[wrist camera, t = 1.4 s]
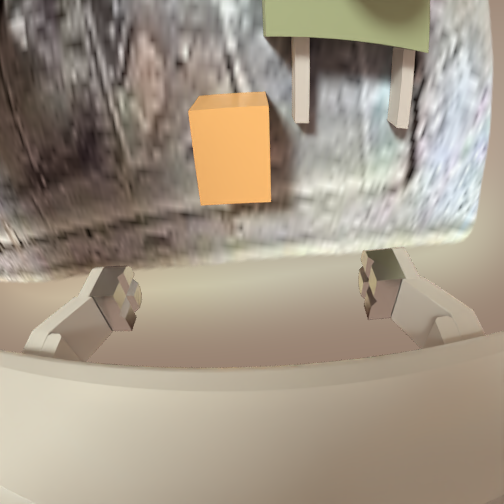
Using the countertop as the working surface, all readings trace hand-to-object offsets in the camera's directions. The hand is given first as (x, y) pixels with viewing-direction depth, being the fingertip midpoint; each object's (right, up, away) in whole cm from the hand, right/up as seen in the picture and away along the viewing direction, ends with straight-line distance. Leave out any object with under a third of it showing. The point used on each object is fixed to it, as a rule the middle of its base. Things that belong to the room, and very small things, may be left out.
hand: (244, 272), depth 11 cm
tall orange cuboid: (-1, +10, +14) cm, 17 cm away
